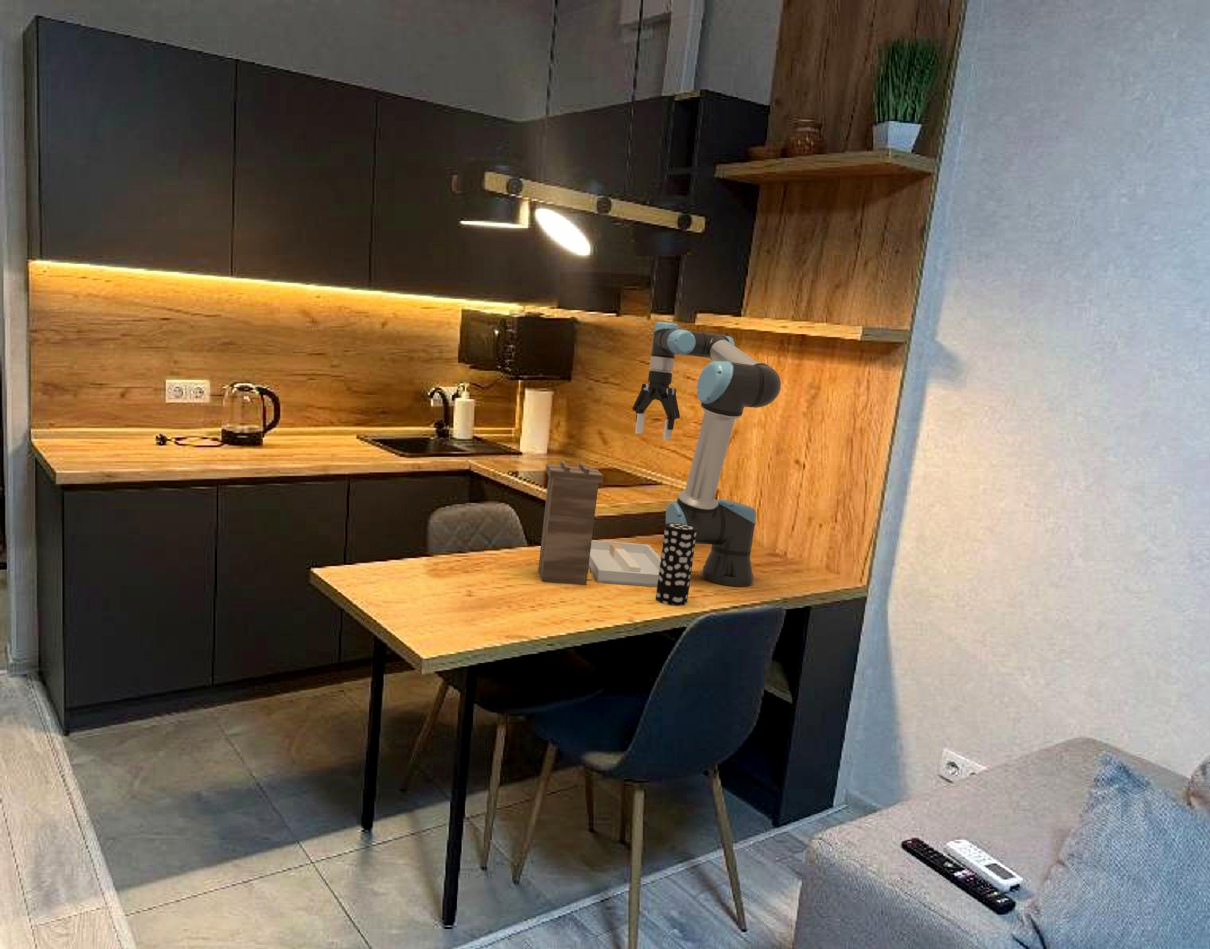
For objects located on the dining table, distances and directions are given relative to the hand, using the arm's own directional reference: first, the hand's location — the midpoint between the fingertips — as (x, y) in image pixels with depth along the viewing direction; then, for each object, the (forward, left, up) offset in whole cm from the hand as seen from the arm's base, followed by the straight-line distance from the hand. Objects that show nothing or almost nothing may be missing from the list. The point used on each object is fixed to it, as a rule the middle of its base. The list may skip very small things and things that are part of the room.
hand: (652, 436), depth 299 cm
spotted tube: (-52, +34, -37) cm, 72 cm away
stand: (-25, +50, -37) cm, 67 cm away
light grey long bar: (-21, +24, -36) cm, 48 cm away
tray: (-21, +24, -37) cm, 49 cm away
